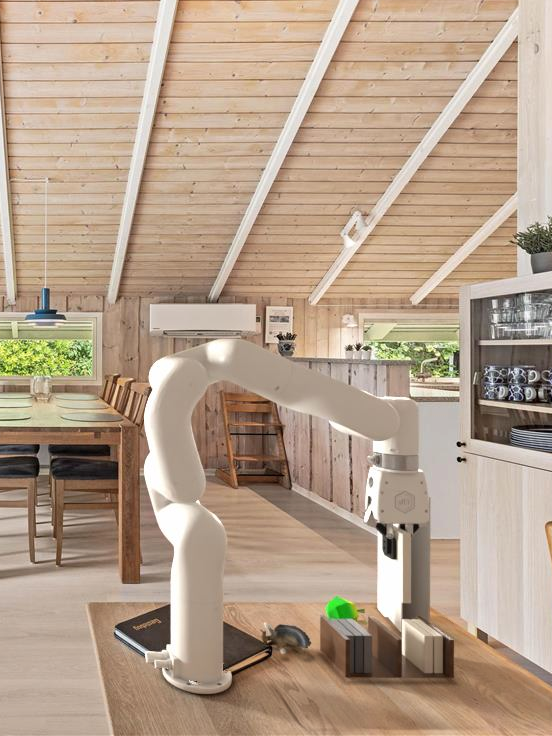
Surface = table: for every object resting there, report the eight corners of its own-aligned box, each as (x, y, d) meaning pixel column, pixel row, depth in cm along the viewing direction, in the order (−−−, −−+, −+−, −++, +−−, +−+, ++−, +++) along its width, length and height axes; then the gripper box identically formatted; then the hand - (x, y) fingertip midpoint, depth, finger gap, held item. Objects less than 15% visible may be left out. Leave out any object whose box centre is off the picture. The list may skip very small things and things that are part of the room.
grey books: (346, 673, 116) (346, 635, 116) (327, 653, 123) (327, 618, 123) (372, 673, 116) (372, 635, 116) (352, 653, 123) (352, 618, 123)
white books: (424, 673, 116) (424, 636, 116) (401, 654, 123) (401, 618, 123) (443, 673, 116) (443, 636, 116) (419, 654, 123) (419, 619, 123)
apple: (329, 593, 137) (364, 590, 138) (315, 603, 141) (349, 599, 143) (344, 627, 132) (380, 623, 134) (329, 636, 137) (364, 632, 139)
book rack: (345, 682, 115) (345, 639, 115) (320, 655, 125) (320, 615, 125) (454, 683, 115) (454, 640, 115) (419, 655, 125) (419, 615, 125)
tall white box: (430, 639, 131) (430, 497, 131) (401, 637, 132) (401, 496, 132) (403, 610, 145) (403, 482, 145) (377, 608, 146) (378, 481, 146)
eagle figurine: (265, 658, 121) (314, 656, 119) (257, 618, 125) (305, 615, 123) (265, 663, 127) (312, 661, 125) (258, 625, 131) (303, 622, 129)
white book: (402, 603, 116) (402, 534, 116) (381, 588, 123) (381, 522, 123) (411, 603, 116) (411, 534, 116) (389, 588, 123) (389, 522, 123)
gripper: (365, 466, 116) (365, 564, 116) (449, 465, 116) (449, 564, 116) (344, 458, 124) (345, 550, 124) (424, 458, 123) (424, 550, 123)
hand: (395, 556), depth 120 cm, fingers closed on white book, 1 cm apart
